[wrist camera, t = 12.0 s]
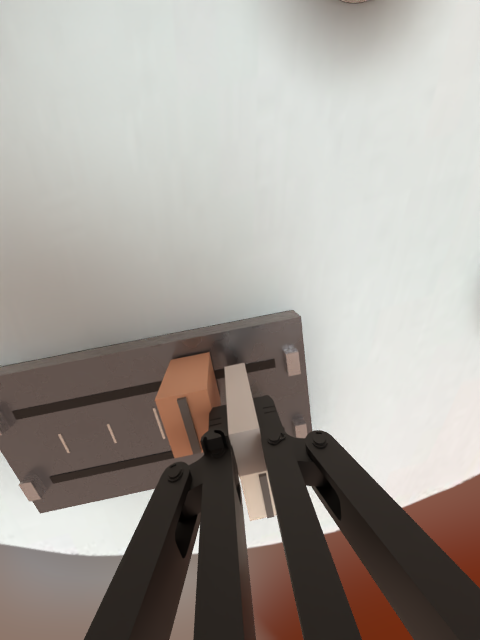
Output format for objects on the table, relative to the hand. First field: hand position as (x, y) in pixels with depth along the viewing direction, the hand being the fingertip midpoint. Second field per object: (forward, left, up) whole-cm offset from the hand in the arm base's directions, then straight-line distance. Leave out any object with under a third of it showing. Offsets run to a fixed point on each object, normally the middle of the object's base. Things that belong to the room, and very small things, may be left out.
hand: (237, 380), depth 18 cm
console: (-2, -8, -4) cm, 9 cm away
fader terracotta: (-2, -3, -2) cm, 4 cm away
